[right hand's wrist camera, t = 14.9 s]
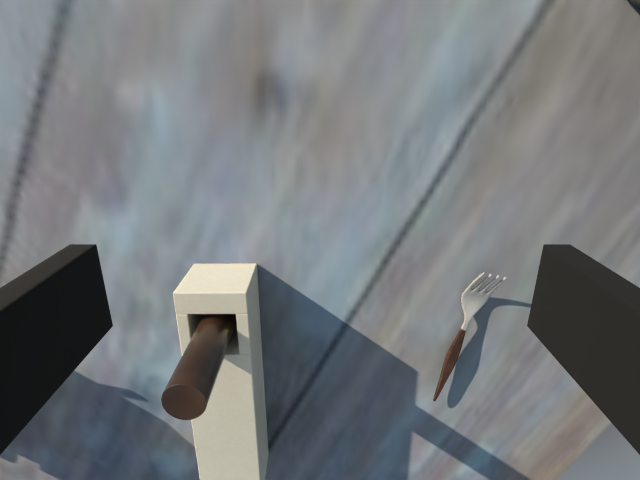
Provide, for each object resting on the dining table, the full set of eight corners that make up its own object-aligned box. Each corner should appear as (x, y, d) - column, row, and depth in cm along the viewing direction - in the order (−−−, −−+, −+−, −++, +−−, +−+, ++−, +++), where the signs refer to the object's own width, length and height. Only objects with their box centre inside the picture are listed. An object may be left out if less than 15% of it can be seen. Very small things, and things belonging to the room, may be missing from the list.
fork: (421, 395, 44) (425, 408, 42) (473, 263, 39) (481, 272, 37) (444, 399, 44) (449, 413, 42) (499, 269, 39) (508, 278, 37)
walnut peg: (242, 286, 40) (204, 384, 27) (244, 313, 41) (208, 420, 28) (211, 286, 40) (158, 384, 27) (214, 313, 41) (164, 420, 28)
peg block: (256, 263, 39) (246, 292, 33) (268, 453, 47) (261, 503, 42) (193, 263, 39) (172, 293, 33) (216, 454, 47) (203, 503, 42)
